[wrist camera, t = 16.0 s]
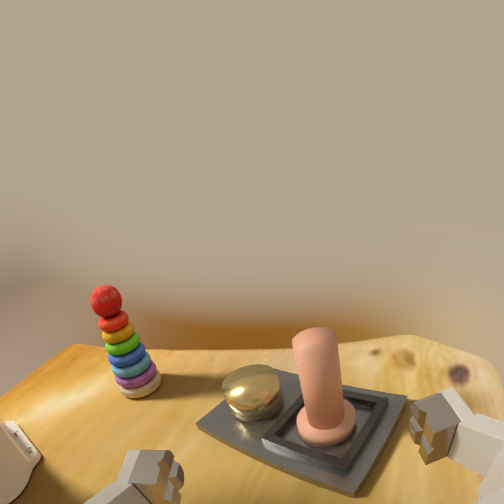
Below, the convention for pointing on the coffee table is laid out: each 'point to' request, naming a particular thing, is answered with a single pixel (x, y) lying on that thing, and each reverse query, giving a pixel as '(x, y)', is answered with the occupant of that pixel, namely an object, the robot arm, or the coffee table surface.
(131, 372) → the stacking toy
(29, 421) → the coffee table surface
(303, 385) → the pink peg on base
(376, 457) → the carrier plate
